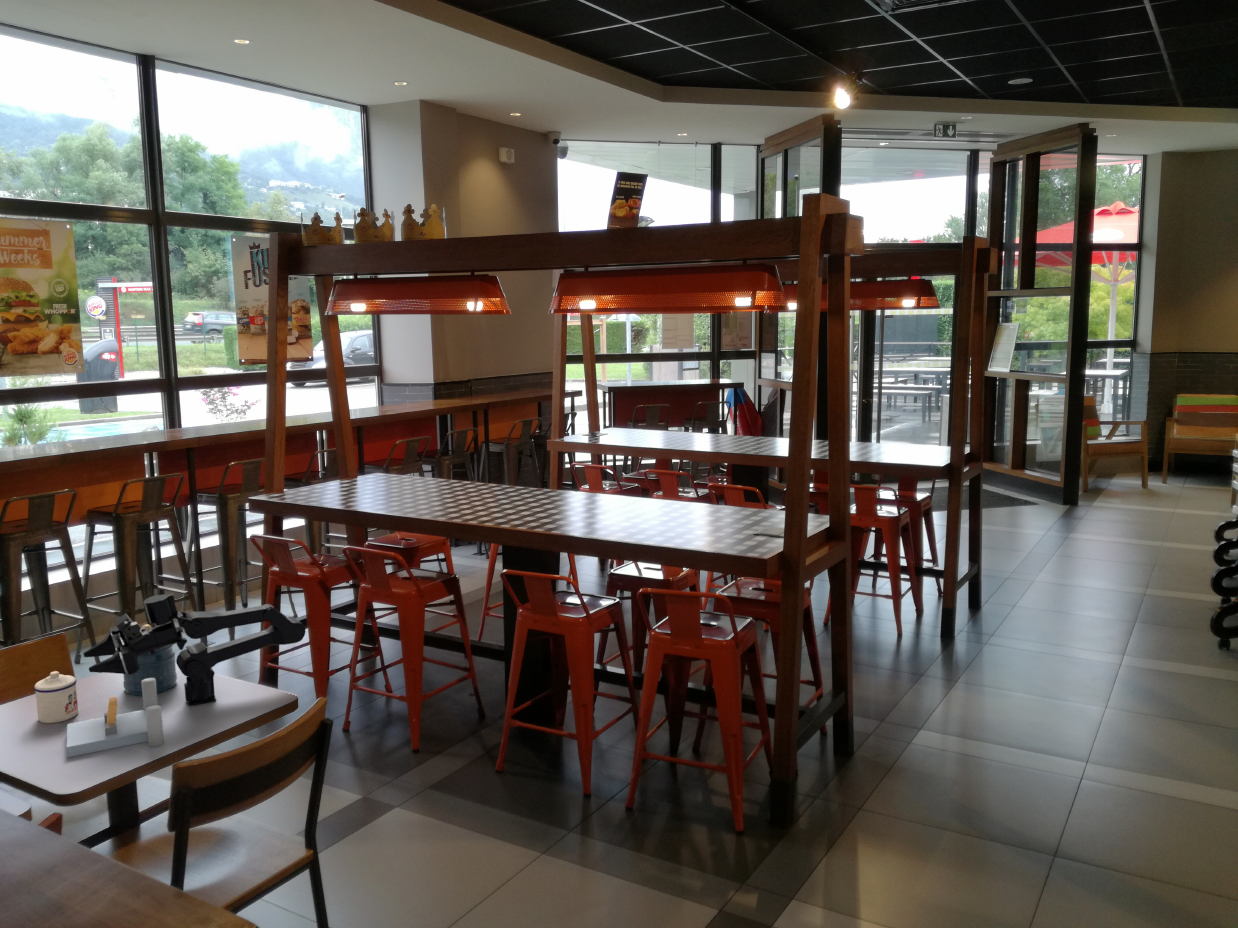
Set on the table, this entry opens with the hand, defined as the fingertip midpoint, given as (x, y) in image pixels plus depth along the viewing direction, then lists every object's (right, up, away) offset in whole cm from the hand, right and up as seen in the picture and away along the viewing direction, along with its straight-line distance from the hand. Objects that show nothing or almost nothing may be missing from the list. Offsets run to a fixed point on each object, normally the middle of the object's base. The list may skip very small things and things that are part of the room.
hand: (86, 662), depth 223 cm
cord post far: (+12, -15, +8) cm, 21 cm away
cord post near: (+21, -17, -8) cm, 29 cm away
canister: (+3, -12, +25) cm, 28 cm away
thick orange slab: (+9, -13, -5) cm, 17 cm away
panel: (+9, -17, -5) cm, 20 cm away
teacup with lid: (-11, -15, +8) cm, 20 cm away
